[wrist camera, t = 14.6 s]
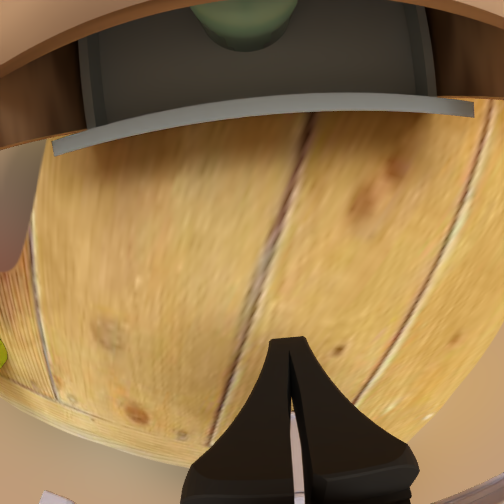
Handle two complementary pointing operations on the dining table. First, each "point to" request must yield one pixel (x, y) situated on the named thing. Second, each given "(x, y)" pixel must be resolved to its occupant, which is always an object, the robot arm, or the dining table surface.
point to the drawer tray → (257, 70)
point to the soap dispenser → (2, 354)
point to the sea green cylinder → (245, 22)
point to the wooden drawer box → (149, 3)
